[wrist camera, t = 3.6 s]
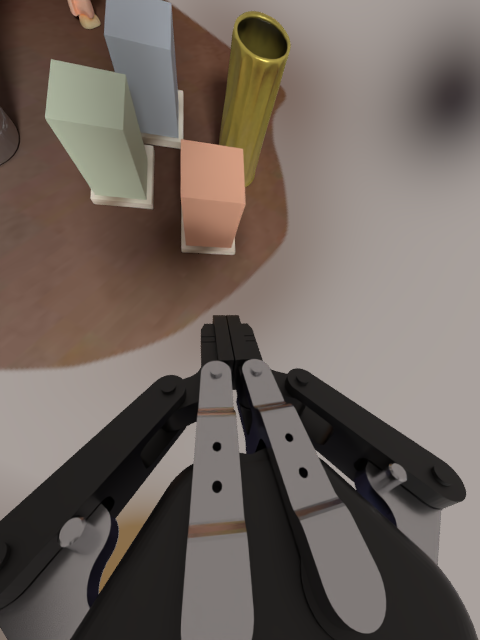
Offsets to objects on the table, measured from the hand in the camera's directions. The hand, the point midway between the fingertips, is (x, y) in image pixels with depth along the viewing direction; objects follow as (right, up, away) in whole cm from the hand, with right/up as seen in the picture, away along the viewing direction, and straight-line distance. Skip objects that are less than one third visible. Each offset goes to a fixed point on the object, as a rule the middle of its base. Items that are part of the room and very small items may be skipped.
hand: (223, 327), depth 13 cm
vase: (0, +23, +20) cm, 30 cm away
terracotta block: (-3, +13, +16) cm, 21 cm away
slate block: (-11, +29, +17) cm, 35 cm away
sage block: (-14, +19, +15) cm, 28 cm away
